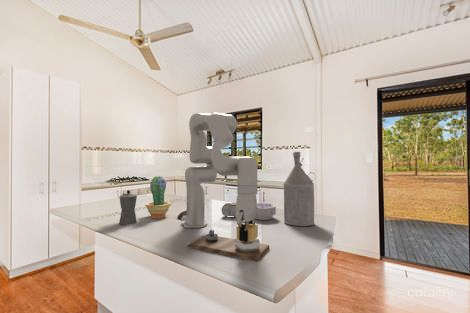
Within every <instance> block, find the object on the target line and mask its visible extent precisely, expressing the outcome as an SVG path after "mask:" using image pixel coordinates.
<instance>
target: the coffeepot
mask: <svg viewBox="0 0 470 313" xmlns="http://www.w3.org/2000/svg"><path fill="white" fill-rule="evenodd" d="M137 198H138V195H137V194H135V193H134V194H133V193H131V190H129V189H128V190H126V193H122V194H121V195H119V204H120V209H121V213H120V217H119V222H118V223H119V225H121V226H131V225H134V224H137V222H138V221H137V215H136V205H137Z"/></svg>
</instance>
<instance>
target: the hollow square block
mask: <svg viewBox="0 0 470 313" xmlns="http://www.w3.org/2000/svg"><path fill="white" fill-rule="evenodd" d="M242 224H244V226H245V223H242ZM258 228H259V224H255V225H254V224H248V225H247V230H248V241H250V242H252V241H253V240H254V239H256V238H257V239H258V237H259V235H258V234H259V230H258ZM236 239H238V240H239V227H238V225H237V226H236Z"/></svg>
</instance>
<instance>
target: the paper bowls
mask: <svg viewBox="0 0 470 313" xmlns="http://www.w3.org/2000/svg"><path fill="white" fill-rule="evenodd" d="M276 210H277V209H276V205H275V204H273V203H265V202H264V203H258V202H257V216H256V220H258V219H259V220H258V221H268V220H272V218H273V217H274V216H275V215H277V211H276Z"/></svg>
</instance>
